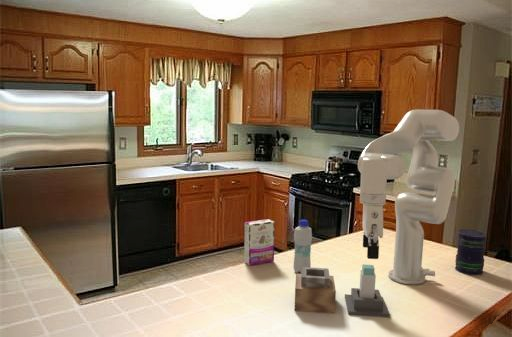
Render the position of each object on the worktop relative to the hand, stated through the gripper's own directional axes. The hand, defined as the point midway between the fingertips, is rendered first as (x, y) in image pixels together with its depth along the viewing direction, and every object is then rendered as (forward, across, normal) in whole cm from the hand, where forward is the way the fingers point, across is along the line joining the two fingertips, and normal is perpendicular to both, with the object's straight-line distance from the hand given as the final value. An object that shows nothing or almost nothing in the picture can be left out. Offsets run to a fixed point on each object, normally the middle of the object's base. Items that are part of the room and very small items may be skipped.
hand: (370, 252), depth 132 cm
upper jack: (+17, -1, +17) cm, 24 cm away
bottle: (+18, +25, +21) cm, 37 cm away
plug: (+16, -1, +1) cm, 16 cm away
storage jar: (+19, +37, -43) cm, 60 cm away
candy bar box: (+18, +33, +38) cm, 53 cm away
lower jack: (+17, -1, +1) cm, 17 cm away
